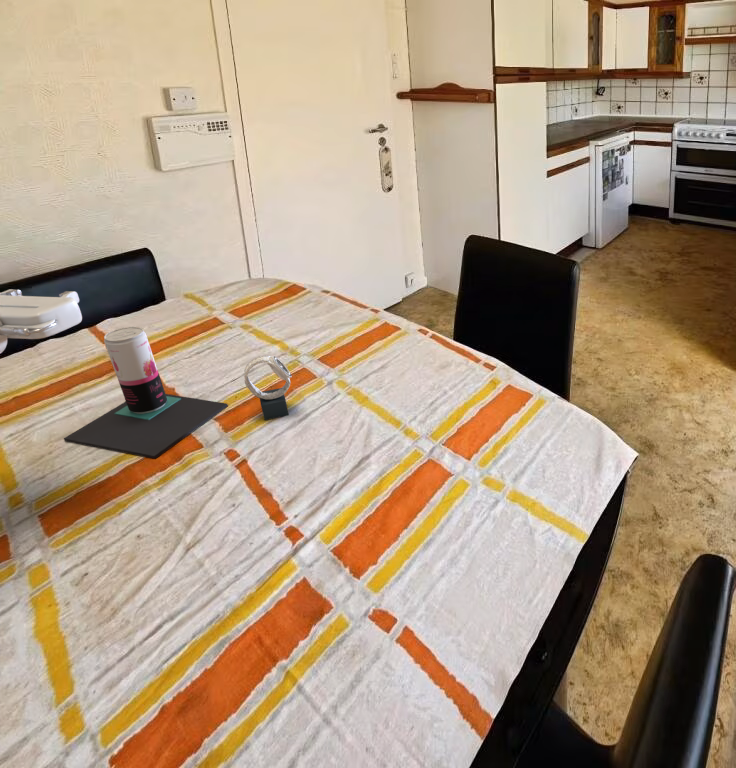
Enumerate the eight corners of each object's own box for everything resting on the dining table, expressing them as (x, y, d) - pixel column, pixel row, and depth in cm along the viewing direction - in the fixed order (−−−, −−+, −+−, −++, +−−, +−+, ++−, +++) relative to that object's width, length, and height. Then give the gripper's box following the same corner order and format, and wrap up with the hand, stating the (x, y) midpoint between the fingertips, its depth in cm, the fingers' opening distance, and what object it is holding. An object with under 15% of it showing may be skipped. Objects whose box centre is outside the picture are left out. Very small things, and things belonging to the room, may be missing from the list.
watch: (299, 412, 116) (288, 359, 111) (254, 422, 114) (240, 369, 108) (296, 399, 121) (285, 348, 116) (252, 408, 118) (238, 356, 113)
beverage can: (173, 404, 119) (150, 332, 111) (137, 418, 114) (110, 344, 107) (159, 393, 122) (136, 323, 115) (123, 406, 118) (97, 334, 111)
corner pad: (114, 414, 116) (114, 413, 116) (148, 393, 123) (148, 393, 123) (148, 420, 114) (148, 419, 114) (181, 399, 121) (180, 398, 121)
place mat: (64, 441, 110) (63, 438, 109) (145, 392, 125) (144, 390, 124) (155, 458, 104) (154, 455, 104) (228, 406, 119) (227, 403, 119)
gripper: (26, 312, 80) (101, 277, 92) (-113, 306, 83) (-22, 273, 95) (44, 355, 83) (114, 316, 95) (-90, 349, 86) (-5, 312, 98)
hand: (46, 295), depth 95 cm, fingers open, 8 cm apart
